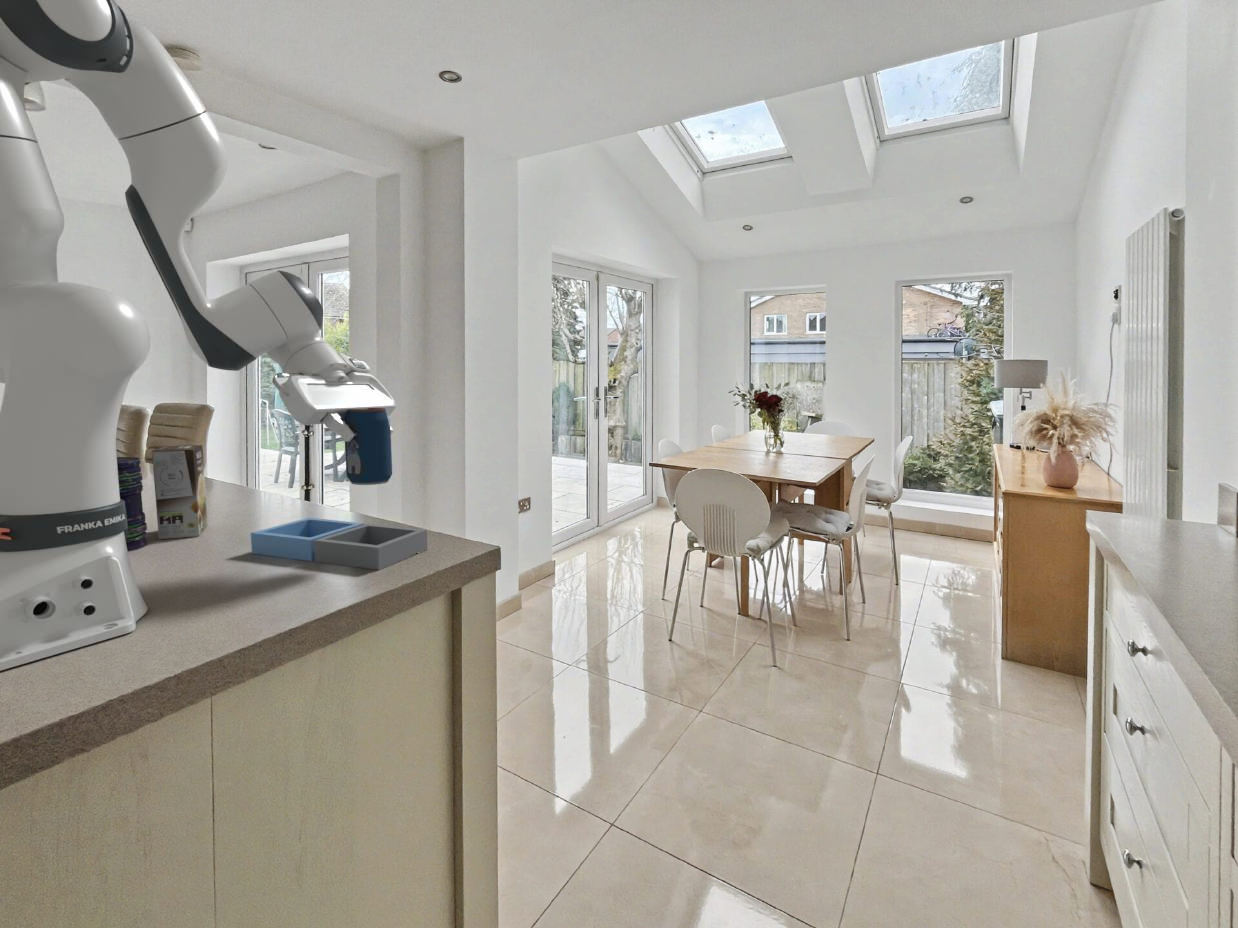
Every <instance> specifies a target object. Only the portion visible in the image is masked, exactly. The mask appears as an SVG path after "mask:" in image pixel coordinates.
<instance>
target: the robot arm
mask: <svg viewBox="0 0 1238 928" xmlns="http://www.w3.org/2000/svg"><path fill="white" fill-rule="evenodd" d="M60 80H64V81H66V82H67V83H69V84H71V85H72V86H74V87H75V88H76V89H77V90H79V91H80V92H81V93H83V95H84V96H85V97H87V98H88V100H90V102H92V104H93V105H94V106H95V107H96V109H98V111H99V113H100V115H101V116H102V118H103V120H104V121H105V124H107V126H108V128H109V130H110V131H111V132H112V134H113V136H114V137H115V139H116V140H117V142H118V143H119V145H120V147H121V148H122V150H123V152H124V154H125V156H126V159H127V162H128V165H129V169H130V170H129V171H130V177H131V180H130V181H131V184H129V186H128V187H127V189H126V190H125V192H124V197H125V201H126V205H127V209H128V212H129V215H130V217H131V219H132V222H133V223H134V226H135V228H136V229H137V231H138V232H137V233H138V234H139V237H140V239H141V240H142V243H143V245H144V248H145V249H146V251H147V254H148V255H149V258H150V259H151V261H152V263H153V265H154V267H155V269H156V271H157V273H158V276H159V277H160V279H161V281H162V283H163V285H164V288H165V290H166V292H167V293H168V295H169V298H170V300H171V301H172V303H173V305H174V308H175V309H176V311H177V313H178V317H179V318H180V320H181V323H182V327H183V330H184V331H183V332H184V334H185V337H186V339H187V341H188V344H189V345H190V347H191V349H192V351H193V352H194V353H195V355H196V356H197V357H198V358H199V359H200V360H202V361H203V362H204V363H205V364H206V365H207V366H208V367H210V368H213V369H217V370H224V371H232V372H234V371H236V372H238V371H240V370H242V369H243V368H245V367H247V366H248V365H249V364H251V363H252V362H254V361H256V360H257V359H258V358H259V357H261V356H263V355H264V354H266V355H267V356H268V358H270V360H272V361H273V362H275V363H276V364H278V366H279V368H280V369H281V372H278V373H275V375H274V376H273V377H272V384H273V386H274V387H275V388H276V389H277V391H278V394H279V397H280V399H281V401H282V403H283V405H284V406H285V408H286V410H287V411H288V412H289V414H290V415H291V416H292V418H293V419H294V420H295V421H296V422H298V423H299V424H301V425H303V426H310V425H311V426H312V425H325V427H326V428H327V429H329V430H331V431H332V432H333V433H336V434H337V435H339V436H340V437H341V438H342V439H343V441H344V442H345V441H346V442H349V441H354V440H355V438H357V437H358V432H357V431H355V429H354V428H353V426H348V425H346V424H345V423H344V419H345V417H346V415H347V413H348V409H368V408H385V409H386V413H387V414H388V416H389V417H390V416H391V414H392V413H393V412H394V411H395V409H396V407H397V406H396V401H395V399H394V397H393V396H392V395H391V393H390V392H389V391H388V390H387V389H386V387H385V386H384V385H383V384H382V382H380V380H379V379H378V378H377V377H376V376H374V375H372V374H371V373H370V372H371V370H372V369H371V367H369V365H368V364H367V363H366V362H365V361H361V360H360V359H356V358H352V357H351V356H348V355H346V354H344V353H342V352H340V351H337V350H336V349H335V348H334V347H333V346H332V344H330V343H329V342H327V340H325V339H324V338H323V337H322V336H321V335H320V331H322V328H323V321H324V308H323V305H322V304H321V301H320V300H319V299H318V298H317V296H316V295H315V294H314V292H313V291H312V290H311V289H310V288H309V287H308V286H307V284H306V283H305V281H303V280H302V278H301V277H300V276H298V275H296V274H293V273H291V272H288V271H285V270H275V271H273V272H270V273H267V274H264V275H263V276H260V277H258V278H256V279H254V280H252V281H249V282H248V283H247V284H245V285H242V286H241V287H238V288H236V289H234V290H231V291H230V292H228V293H225V294H223V295H221V296H220V297H217V298H213V299H209V298H208V297H206V294H205V292H204V290H203V288H202V286H201V283H200V282H199V279H198V277H197V274H196V272H195V271H194V269H193V266H192V264H191V261H190V259H189V258H188V256H187V253H186V250H185V248H184V247H185V246H184V240H183V239H184V233H185V230H186V227H187V225H188V224H189V223H190V221H191V219H192V218H193V217H194V216H195V214H197V212H198V211H199V210H200V209H202V207H203V206H204V205H205V204H206V203H207V202H208V201H209V200H210V199H211V198H212V197H213V195H214V194H215V193H216V192H217V190H218V189H219V188H220V186H221V184H223V183H222V182H223V180H224V178H225V177H226V173H227V170H228V151H227V149H226V145H225V143H224V141H223V139H222V136H221V134H220V133H219V130H218V127H217V126H216V124H215V123H214V120H213V118H212V117H211V116H210V114H209V112H208V110H207V108H206V107H205V105H204V103H203V102H202V99H201V98H200V96H199V95H198V93H197V91H196V90H195V88H194V87H193V86H192V84H191V83H190V81H189V79H188V78H187V76H186V75H185V74H184V72H183V71H182V69H181V68H180V67H179V65H178V64H177V63H176V61H175V60H174V59H173V57H172V56H171V55H170V53H169V51H167V49H166V48H165V47H164V45H163V44H162V43H161V42H160V41H159V38H157V37H156V35H155V34H154V33H152V32H151V30H149V28H147V27H145V26H144V25H142V24H140V23H138V22H136V21H133V20H131V19H128V18H127V15H126V13H125V12H124V10H123V9H122V7H120V6H119V5H118V4H117V2H116V0H0V383H1V384H4V389H3V395H2V402H1V406H0V672H1V671H4V670H7V669H10V668H11V669H12V668H13V667H17V666H20V665H24V664H27V663H30V662H34V661H37V660H42V659H45V658H48V657H51V656H54V655H59V654H62V653H65V652H68V651H72V650H75V649H78V648H82V647H85V646H89V645H92V644H95V643H98V642H103V641H105V640H108V639H112V638H116V637H119V636H123V635H127V634H128V633H131V632H133V631H135V630H136V628H137V624H136V623H137V621H138V620H139V619H141V618H142V617H143V616H144V615H145V614H146V613H147V612H148V605H147V604H146V602H145V600H144V598H143V596H142V594H141V592H140V588H139V587H138V584H137V582H136V578H135V577H136V576H135V575H134V572H133V567H132V564H131V561H130V556H129V552H128V550H127V545H126V540H127V532H128V525H127V515H126V508H125V501H123V500H122V499H120V493H119V480H118V467H117V457H118V454H117V432H118V425H119V418H120V413H121V409H122V404H123V400H124V397H125V394H126V390H127V387H128V385H129V382H130V380H131V378H132V376H134V374H135V373H136V372H137V371H138V370H139V369H140V367H141V366H142V365H143V364H144V362H145V361H146V359H147V357H148V355H149V352H150V349H151V348H150V347H151V335H150V334H151V333H150V330H149V327H148V324H147V321H146V320H145V318H144V316H143V315H142V313H141V312H140V311H139V310H138V308H137V307H136V306H134V305H133V304H132V303H131V302H130V301H129V300H127V299H126V298H124V297H123V296H120V295H118V294H117V293H114V292H111V291H108V290H105V289H101V288H98V287H94V286H91V285H90V286H89V285H85V284H83V283H75V282H66V281H65V282H64V281H63V282H60V281H59V275H58V265H57V263H58V261H57V257H58V256H57V253H58V243H59V240H60V238H61V235H62V233H63V231H64V228H65V217H64V213H63V210H62V208H61V207H62V206H61V204H60V202H59V199H58V195H57V193H56V190H55V188H54V187H55V186H54V183H53V181H52V179H51V175H50V173H49V170H48V167H47V164H46V161H45V158H44V156H43V155H44V154H43V153H42V150H41V147H40V144H39V141H38V139H37V136H36V133H35V130H34V128H33V125H32V123H31V120H30V118H29V116H28V112H27V111H26V105H25V104H26V103H25V87H26V86H27V85H29V84H31V83H38V82H51V81H60ZM390 428H391V435H392V434H393V433H394V429H393V428H392V426H390Z"/></svg>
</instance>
